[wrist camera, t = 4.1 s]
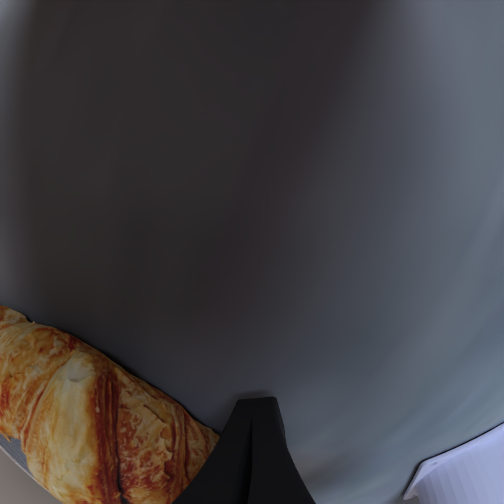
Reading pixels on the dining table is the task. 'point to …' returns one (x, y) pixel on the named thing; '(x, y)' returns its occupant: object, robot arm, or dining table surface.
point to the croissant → (92, 421)
